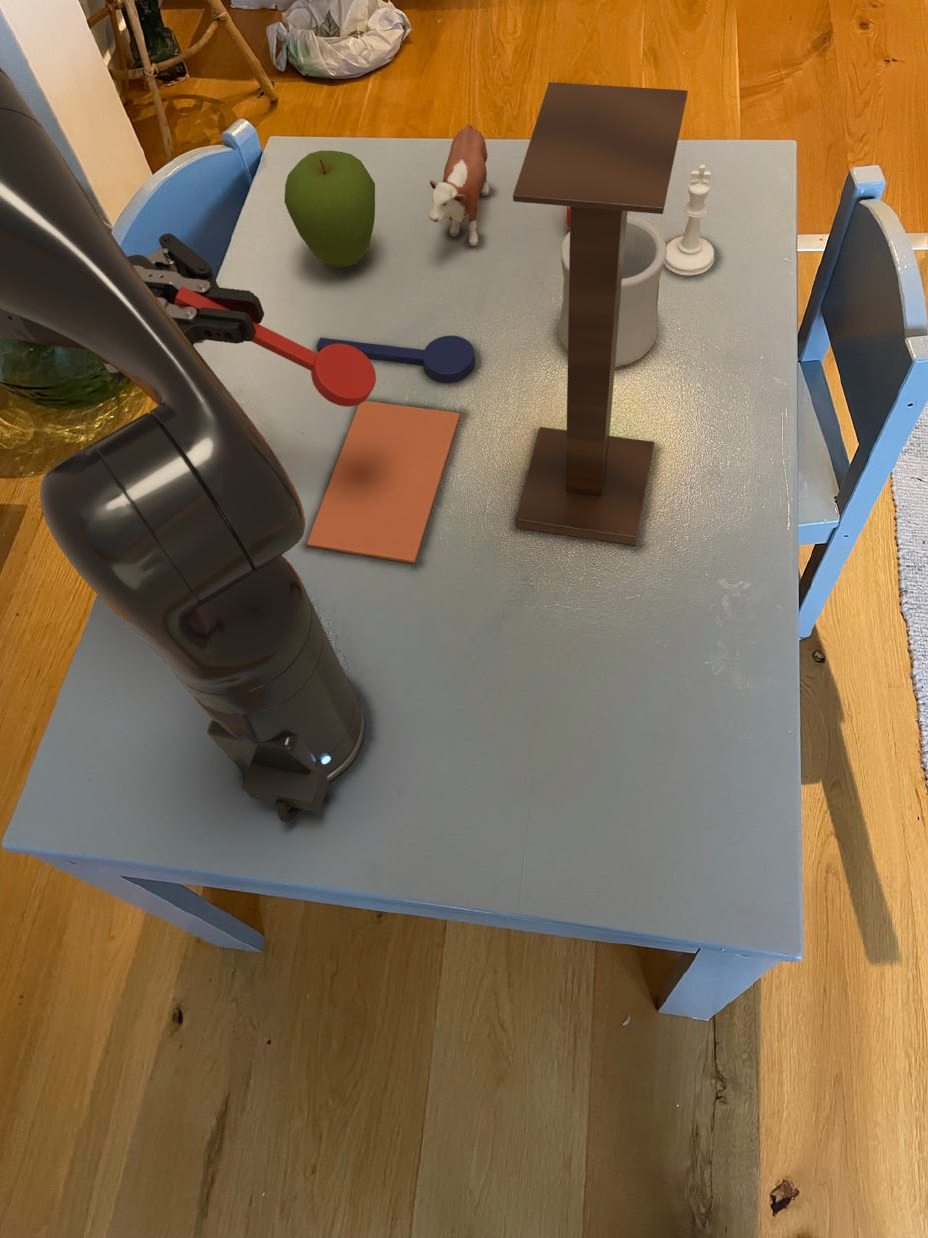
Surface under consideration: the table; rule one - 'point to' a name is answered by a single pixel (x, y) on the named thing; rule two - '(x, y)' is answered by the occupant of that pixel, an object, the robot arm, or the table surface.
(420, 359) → the navy spoon
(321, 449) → the table surface
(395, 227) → the table surface
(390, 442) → the terracotta mat
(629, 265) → the mug
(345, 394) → the red spoon
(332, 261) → the apple
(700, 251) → the chess piece
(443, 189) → the bull figurine
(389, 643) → the table surface
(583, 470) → the spoon stand
